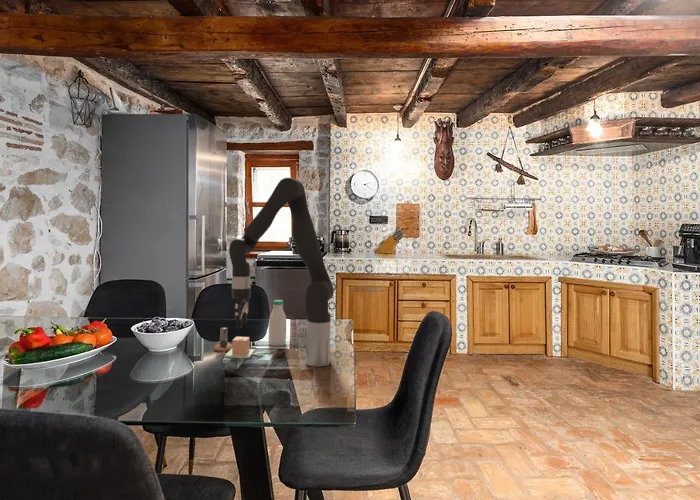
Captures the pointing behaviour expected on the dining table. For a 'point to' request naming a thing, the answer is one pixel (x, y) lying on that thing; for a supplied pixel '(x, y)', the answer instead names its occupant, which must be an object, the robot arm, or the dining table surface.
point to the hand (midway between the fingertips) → (241, 325)
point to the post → (223, 342)
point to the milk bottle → (277, 324)
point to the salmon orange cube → (240, 345)
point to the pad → (240, 354)
